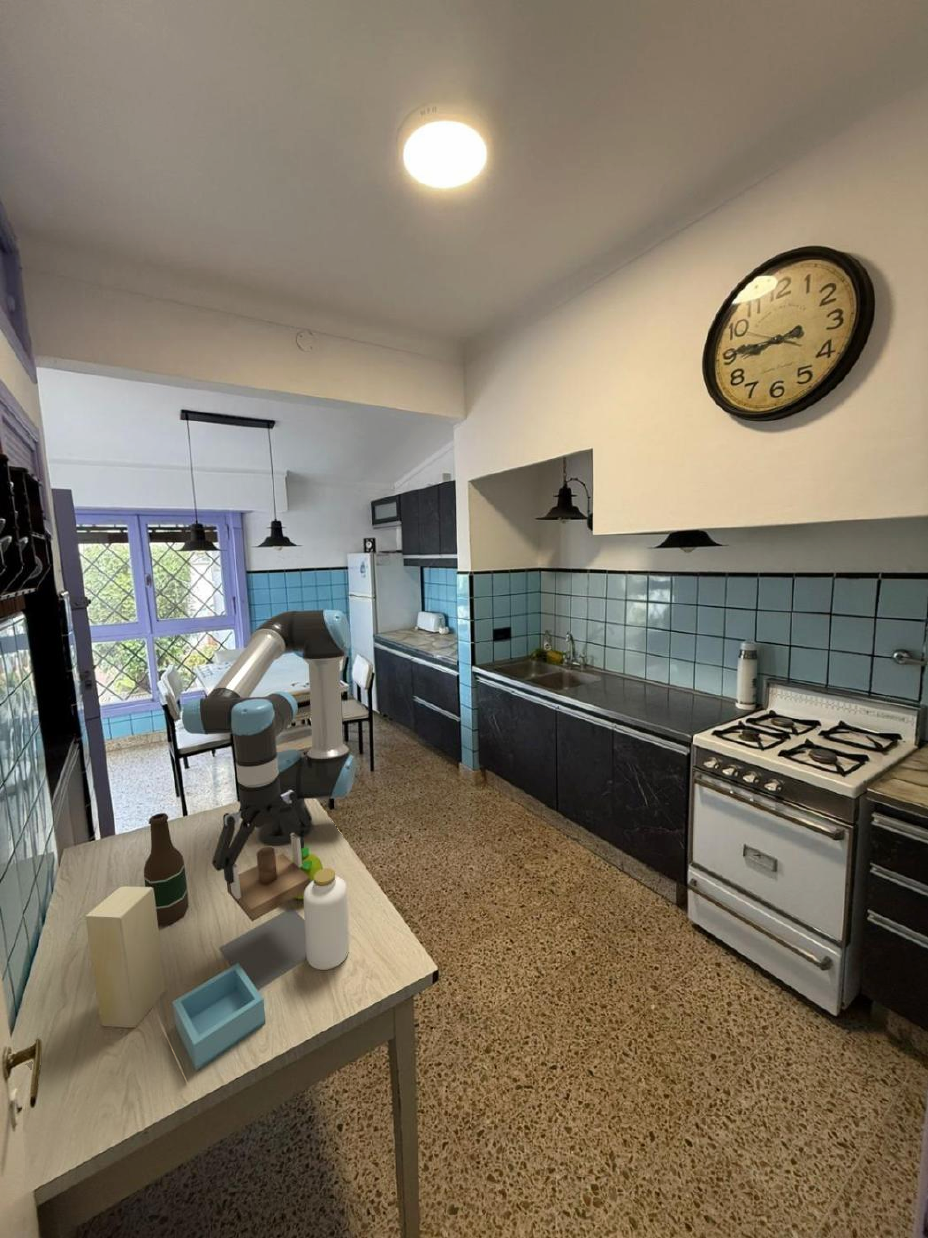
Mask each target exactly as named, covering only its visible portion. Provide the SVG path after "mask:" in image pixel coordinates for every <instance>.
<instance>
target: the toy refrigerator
mask: <svg viewBox="0 0 928 1238" xmlns="http://www.w3.org/2000/svg"><path fill="white" fill-rule="evenodd" d="M85 924H86V930H87V937H88V945H89V950H90V957H91V965H92V971H93V977H94V985H95V991H96V999H97V1005H98V1014H99V1020H100V1021H99V1022H100V1024H101V1026H103V1027H110V1028H111V1027H116V1028H125V1029H126V1028H129V1029H130V1028H132V1029H134V1028H136V1027H138V1026H139V1024H140V1023H141V1022H142V1020H144V1018H145V1017H146V1016H147V1014H148V1013H149V1012H150V1010H151V1009H152V1008H153V1007H154V1005H155V1004H156V1002H157V1001H158V1000H159V999H160V997H161V996H162V995H163V993H164V992H165V991H166V989H167V988H166V979H165V978H166V977H165V969H164V964H163V963H164V962H163V956H162V955H163V953H162V947H161V946H162V945H161V938H160V933H159V931H160V929H159V927H158V921H157V913H156V904H155V896H154V889H153V888H152V887H145V886H128V885H127V886H126V885H125V886H119V887H118V888H117V889H115V890H114V891H113V892H112V893H111V894H110V895H109V896H107V897H106V898H105V899H104V900H103V901H101V902H100V903H99V904H98V905H97V906H96V907H94V908H93V909H92V910H91V911H90V912H88V913H87V914H86V915H85Z"/></svg>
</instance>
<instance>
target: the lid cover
mask: <svg viewBox="0 0 928 1238" xmlns="http://www.w3.org/2000/svg"><path fill="white" fill-rule="evenodd" d="M256 861H257V863H256V864H257V865H255V866H253V867H251V868H249V869H247V870H245V871H243V872H240V873H238V874H239V883H240V893H241V898H239V899H236V898H235V896H234V895H233V894H232V892H231V884H228V883H227V882H226V887H227V888H226V889H227V893H228V894H229V895H230V896H231V897H232V899H233V900H234V901H235V902H236V904H237V905H238V907H240V909H241V910H242V911H243V913H244V914H245V915H246V916H247V918H248V919H250V921H251V922H254V921H256V920H257V919H260V918H261V917H263V916H265V915H267V914H269V913H270V912H272V911H274V910H275V909H277V908H279V907H281V906H283V905H284V904H286V903H288V902H290V901H292V900H294V899H297V898H296V897H297V896H299V895H301V894H303V893H304V891H305V889H306V887H307V886H308V885H309V884H310V877H309V876H308V875H306V874H305V873H304V872H303V871H302V870H301V869H300V868H299V867H298V866H296V865H295V864H294V863H293V862H292V861H291V859H290V858H289V857H288V856H287V855H285V853H280V854H279V855H276V850H275V847H272V846H266V847H263V848H260V849H259V850H258V851H257V852H256Z"/></svg>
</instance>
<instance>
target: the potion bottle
mask: <svg viewBox="0 0 928 1238" xmlns="http://www.w3.org/2000/svg"><path fill="white" fill-rule="evenodd" d="M348 902H349V901H348V887H347V883H346V882H345V881H344V879H342V878H341V877H339V876H337V875H336V871H335V869H333V868H328V867H325V868H323V869H321V870H319V871H317V872H316V873H315V875H314V880H313V881H312V882H311V883H310V884H309V885H308V886H307V887H306V889H305V891H304V899H303V913H304V920H305V934H306V952H307V959H306V960H307V963H308V965H310V966H311V967H312V968H314V969H316V970H320V971H321V970H323V971H325V970H331V969H334V968H336V967H337V966H339V965H340V964H342V962H344V961H345V959H346V958H347V956H348V954H349V950H350V939H349V938H350V931H349V929H350V928H349V906H348V905H349V904H348Z"/></svg>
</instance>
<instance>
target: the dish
mask: <svg viewBox="0 0 928 1238" xmlns="http://www.w3.org/2000/svg"><path fill="white" fill-rule="evenodd" d="M172 1008H173V1016H174V1024H175V1028H176V1030H177V1032H178V1034H179V1036H180V1038H181V1041H182V1042H183V1046H184V1047H185V1049H186V1051H187V1053H188V1055H189V1058H190V1060H191V1062H192V1064H193V1066H194V1069H195V1070H196V1072H199V1070H201V1069H202V1068H204V1067H206V1066H207V1065H208V1064H209V1063H211V1062H212V1061H214V1060H215V1059H217V1058H219V1056H221V1055H223V1054H224V1053H225V1052H227V1051H228V1050H230V1049H232V1047H234V1046H235V1045H237V1044H238V1043H239V1042H241V1041H242V1040H244V1039H245V1038H246V1037H248V1036H250V1035H251V1034H252V1033H254V1032H255V1031H256V1030H258V1029H259V1028H261V1027H262V1026H264V1025H265V1024H266V1022H267V1021H266V1013H265V1012H266V1011H265V1001H264V997H263V996H262V995H261V993H260V992H259V990H257V989H256V988H255V986H254V985H253V983H252V982H251V980H250V979H249V978H248V976H247V975H246V973H245V972H244V970H243V969H242V968H241V966H240V965H239V963H237V964H235V965H234V966H232V967H231V966H230V967H229V968H227V969H225V970H224V971H221V972H220V973H219V974H217V975H215V976H214V977H212V978H210V979H208V980H206V981H205V982H203V983H202V984H199V985H198V986H196V987H195V988H193V989H191V990H190V991H187V992H186V993H185V994H183V995H181V996H179V997H178V998H176V999H174V1000H173V1001H172Z"/></svg>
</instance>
